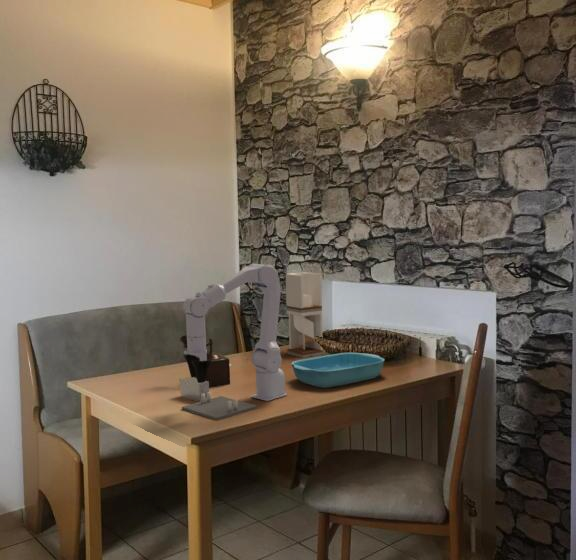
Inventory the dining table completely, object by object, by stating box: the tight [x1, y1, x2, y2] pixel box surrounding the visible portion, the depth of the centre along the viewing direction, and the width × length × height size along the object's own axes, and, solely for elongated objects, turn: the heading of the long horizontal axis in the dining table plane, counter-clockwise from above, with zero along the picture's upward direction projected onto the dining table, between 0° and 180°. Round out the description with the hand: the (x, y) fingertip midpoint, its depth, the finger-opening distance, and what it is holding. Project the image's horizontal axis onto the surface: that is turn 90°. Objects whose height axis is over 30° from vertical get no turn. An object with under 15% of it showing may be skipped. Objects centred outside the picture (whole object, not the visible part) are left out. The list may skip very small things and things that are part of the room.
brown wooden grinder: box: [179, 333, 231, 388], centre depth 230 cm, size 16×11×18 cm
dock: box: [181, 391, 258, 421], centre depth 199 cm, size 16×17×4 cm
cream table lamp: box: [285, 271, 324, 359], centre depth 277 cm, size 11×11×35 cm
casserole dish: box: [291, 352, 385, 389], centre depth 234 cm, size 37×22×7 cm, turn 126°
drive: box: [179, 376, 210, 402], centre depth 213 cm, size 4×10×6 cm, turn 47°
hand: (197, 379), depth 197 cm, fingers open, 7 cm apart
